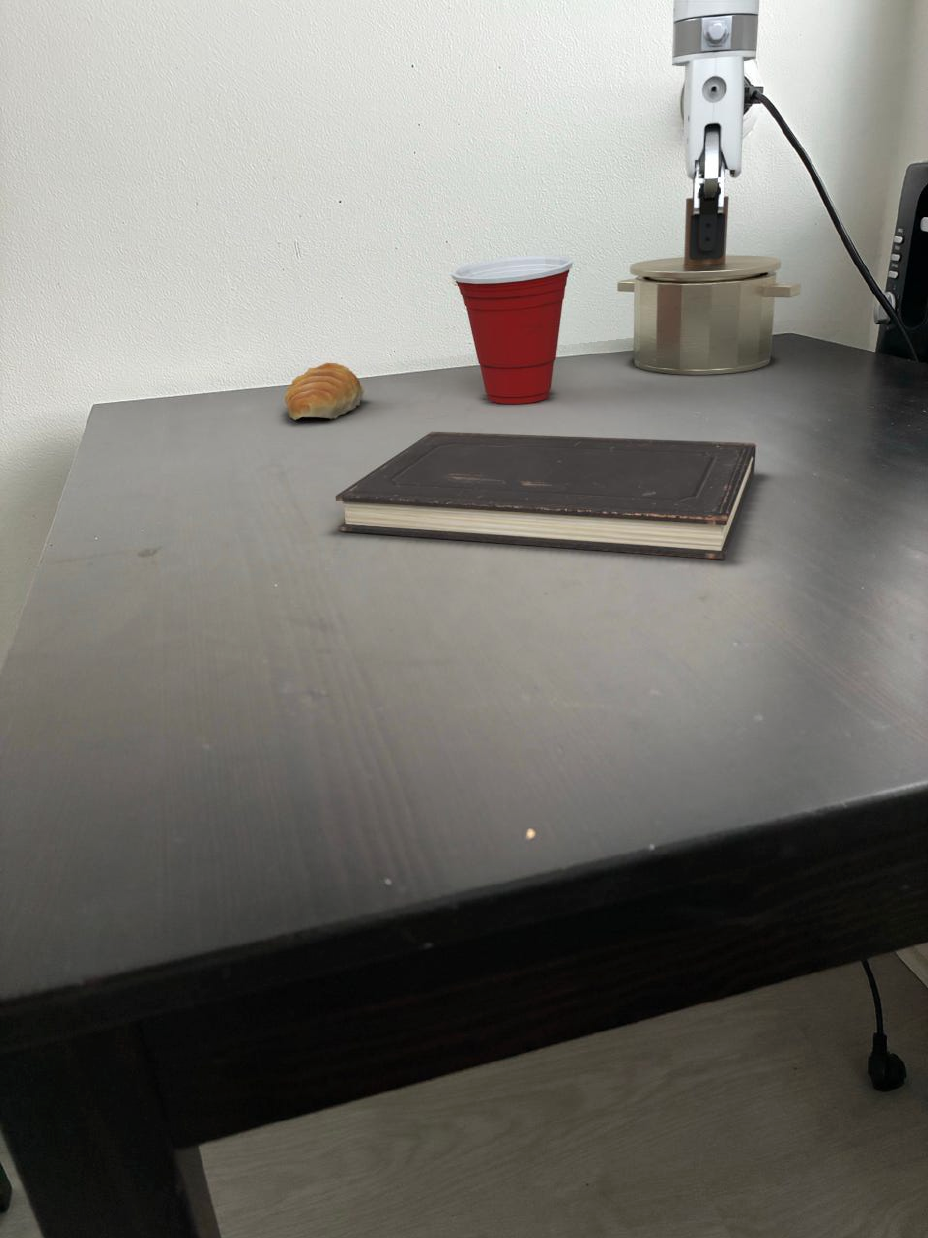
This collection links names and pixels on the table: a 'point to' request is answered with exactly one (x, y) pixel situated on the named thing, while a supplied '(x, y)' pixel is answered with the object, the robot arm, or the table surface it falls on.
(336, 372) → the pastry
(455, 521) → the hardcover book
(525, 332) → the plastic cup
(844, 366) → the table surface
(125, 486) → the table surface
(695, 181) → the robot arm
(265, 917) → the table surface
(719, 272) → the lid
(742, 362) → the pot
